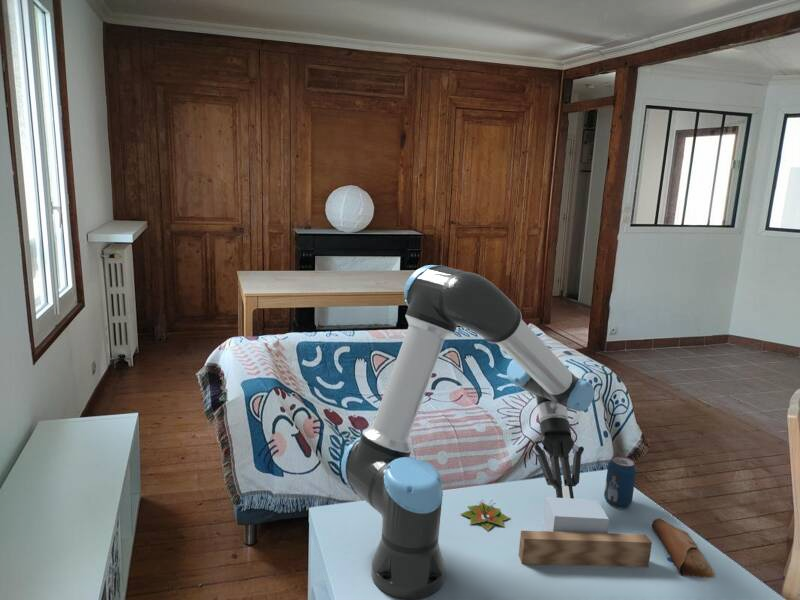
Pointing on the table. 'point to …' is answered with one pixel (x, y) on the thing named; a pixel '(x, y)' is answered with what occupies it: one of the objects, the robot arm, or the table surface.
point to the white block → (574, 516)
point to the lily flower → (485, 510)
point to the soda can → (620, 482)
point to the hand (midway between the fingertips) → (567, 514)
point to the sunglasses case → (682, 550)
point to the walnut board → (584, 548)
